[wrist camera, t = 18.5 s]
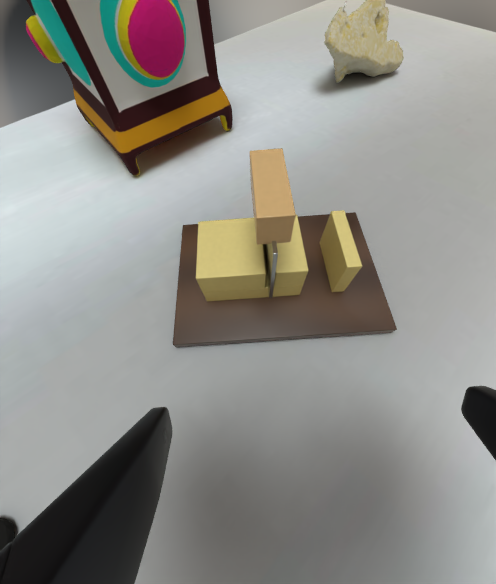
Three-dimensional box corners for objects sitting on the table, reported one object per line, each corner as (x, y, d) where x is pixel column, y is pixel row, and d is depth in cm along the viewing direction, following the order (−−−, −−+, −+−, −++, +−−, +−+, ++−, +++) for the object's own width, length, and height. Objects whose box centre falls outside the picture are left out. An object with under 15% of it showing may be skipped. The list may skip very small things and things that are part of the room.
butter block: (299, 295, 23) (308, 270, 19) (206, 301, 23) (195, 278, 19) (291, 245, 25) (297, 214, 21) (207, 251, 25) (198, 221, 21)
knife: (283, 297, 20) (298, 229, 13) (258, 299, 20) (257, 232, 13) (273, 226, 24) (280, 138, 16) (251, 228, 24) (248, 141, 16)
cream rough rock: (373, 68, 48) (326, -4, 40) (413, 38, 41) (366, -55, 34) (348, 133, 46) (295, 70, 39) (385, 112, 40) (330, 31, 32)
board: (391, 332, 22) (397, 329, 21) (175, 347, 22) (172, 344, 21) (352, 218, 28) (355, 211, 27) (185, 230, 28) (182, 224, 27)
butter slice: (343, 291, 23) (362, 266, 18) (331, 292, 23) (347, 267, 18) (330, 241, 25) (344, 210, 21) (319, 242, 25) (331, 211, 21)
